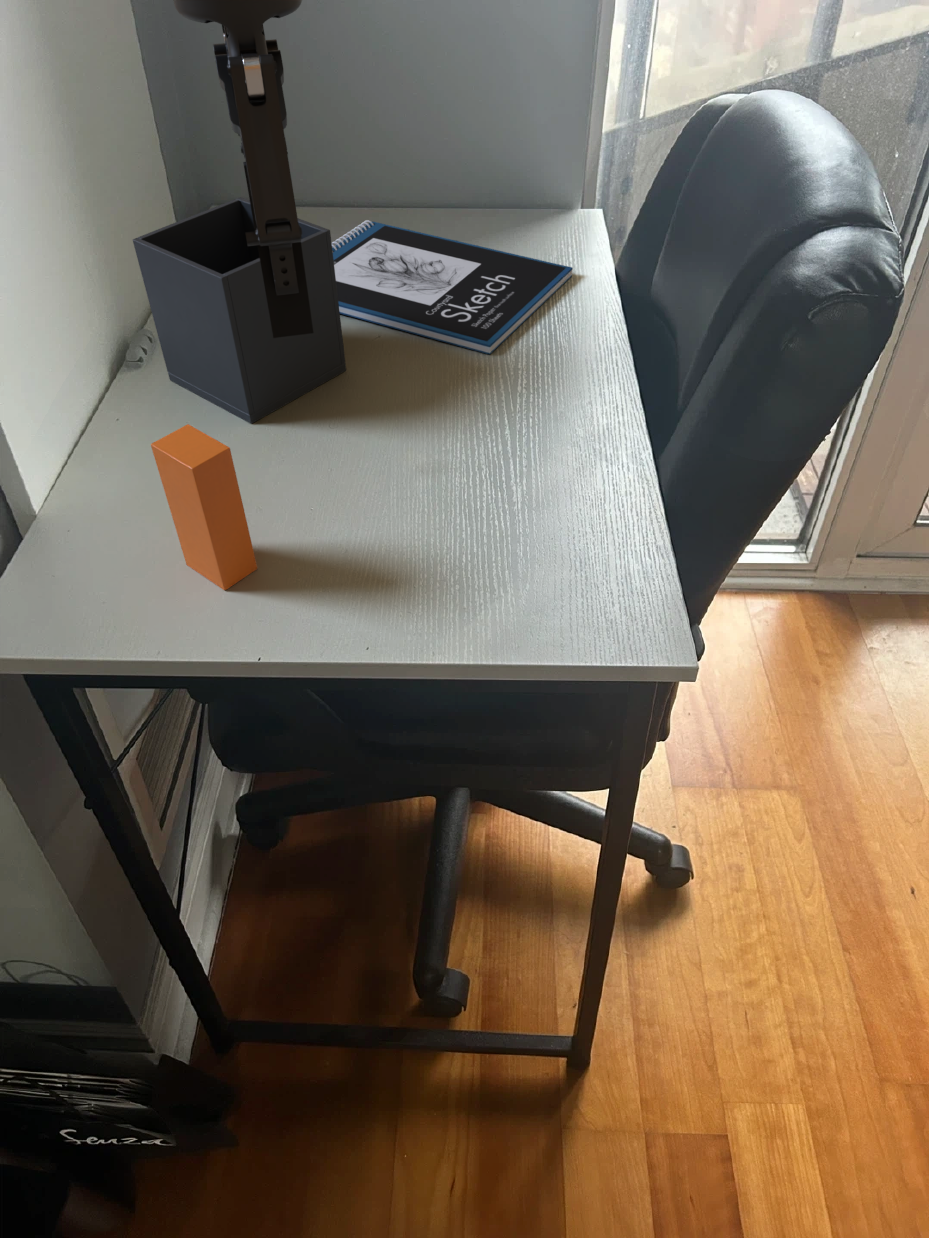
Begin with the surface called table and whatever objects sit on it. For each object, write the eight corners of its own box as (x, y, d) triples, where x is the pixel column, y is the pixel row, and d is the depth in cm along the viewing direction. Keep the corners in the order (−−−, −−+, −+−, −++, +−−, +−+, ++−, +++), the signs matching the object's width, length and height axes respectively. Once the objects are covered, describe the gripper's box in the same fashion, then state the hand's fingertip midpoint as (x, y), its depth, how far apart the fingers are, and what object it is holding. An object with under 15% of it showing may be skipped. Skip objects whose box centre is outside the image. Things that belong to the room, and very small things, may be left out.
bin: (251, 424, 93) (221, 278, 83) (169, 380, 99) (132, 239, 89) (346, 370, 100) (330, 229, 90) (264, 332, 106) (240, 197, 96)
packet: (224, 591, 76) (192, 469, 68) (186, 565, 78) (150, 444, 70) (257, 568, 78) (230, 447, 69) (219, 544, 80) (187, 423, 72)
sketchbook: (490, 357, 102) (490, 339, 101) (268, 298, 113) (265, 281, 111) (572, 277, 115) (573, 260, 114) (366, 231, 126) (365, 215, 124)
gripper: (319, -29, 45) (360, 367, 60) (275, -106, 63) (316, 216, 77) (159, -18, 44) (241, 383, 59) (160, -100, 61) (223, 226, 76)
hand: (284, 289), depth 68 cm, fingers open, 13 cm apart
